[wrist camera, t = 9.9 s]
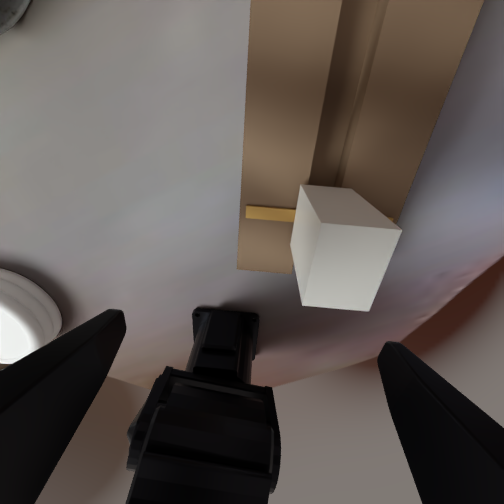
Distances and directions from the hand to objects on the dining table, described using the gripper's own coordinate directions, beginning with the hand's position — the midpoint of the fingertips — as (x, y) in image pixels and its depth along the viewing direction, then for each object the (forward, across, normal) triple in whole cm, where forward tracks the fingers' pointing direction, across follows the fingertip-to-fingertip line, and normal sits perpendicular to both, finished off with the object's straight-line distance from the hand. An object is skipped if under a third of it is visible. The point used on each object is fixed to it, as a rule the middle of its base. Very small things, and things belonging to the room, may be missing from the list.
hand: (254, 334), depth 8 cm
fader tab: (+10, -4, -1) cm, 11 cm away
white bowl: (+12, +24, +13) cm, 30 cm away
